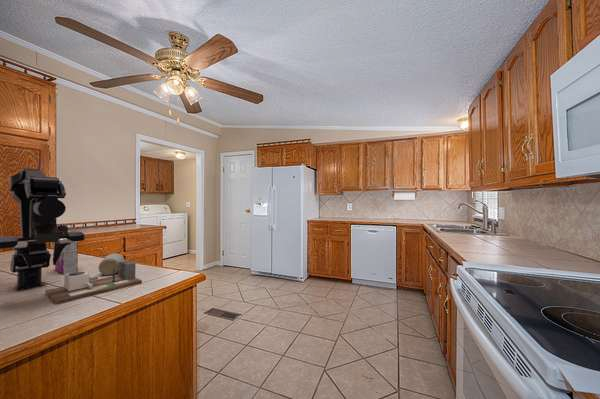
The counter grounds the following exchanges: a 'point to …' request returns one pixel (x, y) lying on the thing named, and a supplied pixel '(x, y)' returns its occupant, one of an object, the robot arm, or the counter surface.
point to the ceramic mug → (110, 264)
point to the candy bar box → (68, 259)
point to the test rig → (98, 285)
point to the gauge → (78, 280)
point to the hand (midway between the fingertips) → (42, 266)
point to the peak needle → (113, 276)
